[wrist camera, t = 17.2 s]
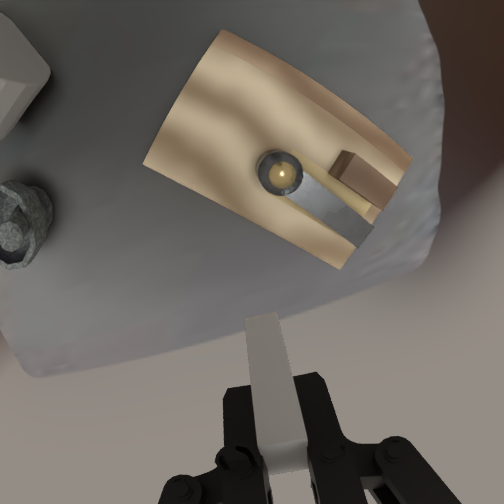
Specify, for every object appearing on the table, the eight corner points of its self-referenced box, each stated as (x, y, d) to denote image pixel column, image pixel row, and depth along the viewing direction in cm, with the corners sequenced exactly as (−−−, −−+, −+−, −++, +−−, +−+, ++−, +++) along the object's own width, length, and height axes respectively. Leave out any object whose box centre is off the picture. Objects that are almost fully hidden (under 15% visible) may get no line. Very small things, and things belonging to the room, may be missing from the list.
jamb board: (222, 32, 24) (221, 17, 20) (407, 157, 31) (430, 163, 27) (145, 162, 29) (132, 169, 25) (336, 265, 36) (349, 284, 32)
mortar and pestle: (20, 249, 32) (-32, 295, 21) (1, 184, 28) (-61, 213, 17) (83, 236, 32) (32, 286, 21) (63, 160, 28) (-1, 183, 17)
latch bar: (247, 173, 29) (250, 181, 26) (270, 141, 28) (277, 143, 25) (342, 240, 33) (355, 254, 30) (364, 212, 32) (379, 223, 29)
